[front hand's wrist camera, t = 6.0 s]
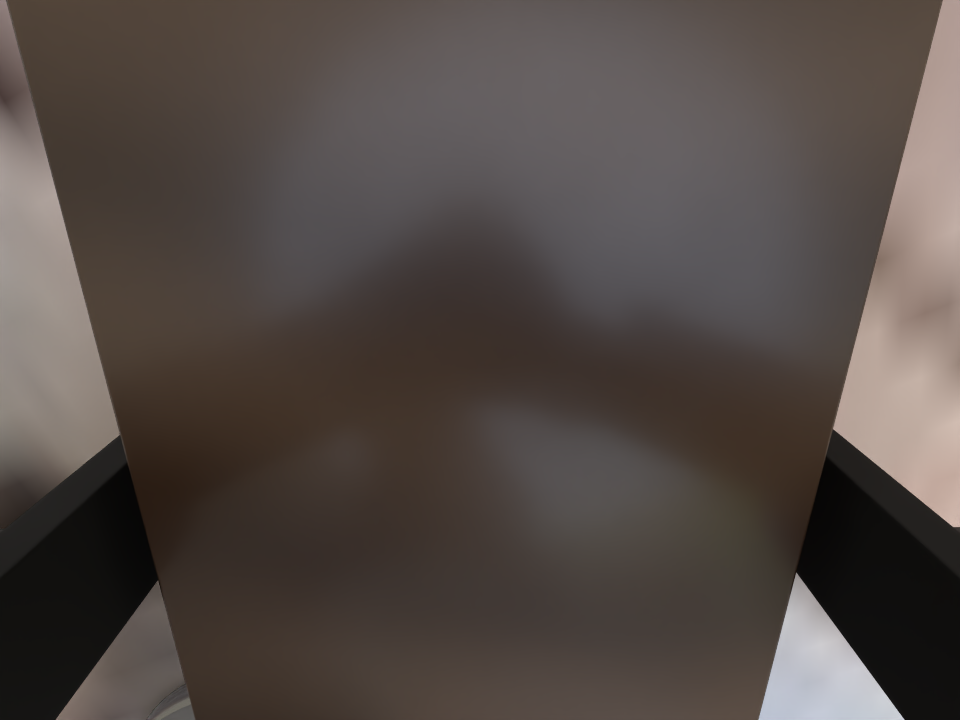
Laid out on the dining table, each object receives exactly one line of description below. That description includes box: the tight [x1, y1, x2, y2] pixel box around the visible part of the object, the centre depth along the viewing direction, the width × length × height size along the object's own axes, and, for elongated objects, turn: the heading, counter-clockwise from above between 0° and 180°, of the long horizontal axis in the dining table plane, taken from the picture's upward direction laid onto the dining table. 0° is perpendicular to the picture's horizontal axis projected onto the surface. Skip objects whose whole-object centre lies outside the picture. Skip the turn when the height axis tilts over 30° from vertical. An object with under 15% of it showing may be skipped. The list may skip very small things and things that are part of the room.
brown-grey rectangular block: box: [6, 0, 943, 720], centre depth 12 cm, size 19×11×11 cm, turn 0°
